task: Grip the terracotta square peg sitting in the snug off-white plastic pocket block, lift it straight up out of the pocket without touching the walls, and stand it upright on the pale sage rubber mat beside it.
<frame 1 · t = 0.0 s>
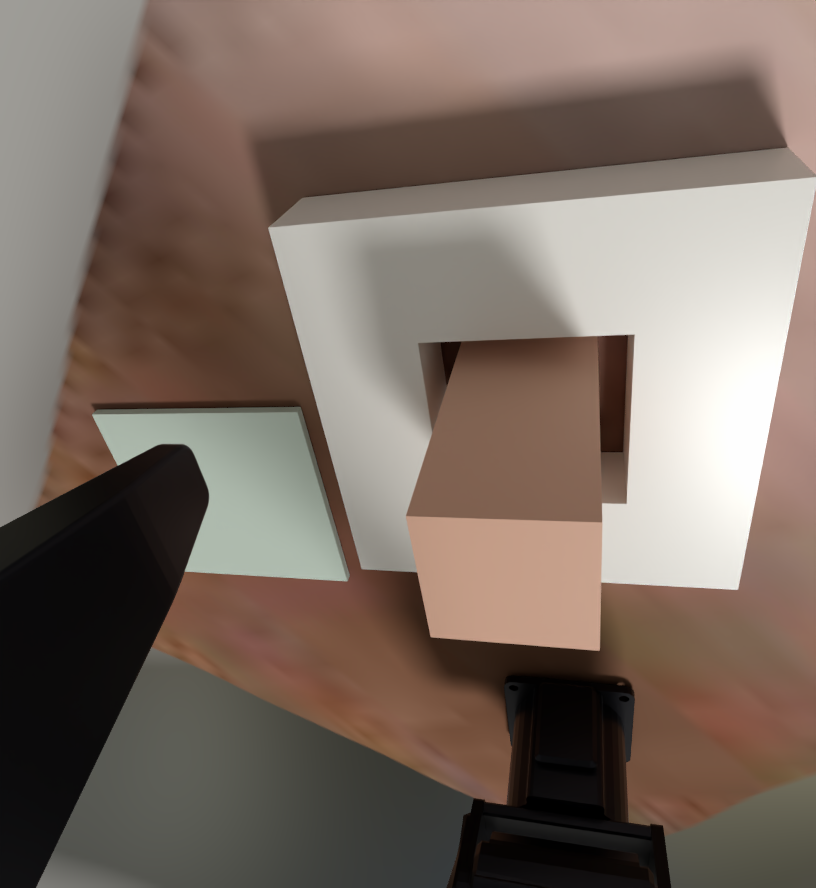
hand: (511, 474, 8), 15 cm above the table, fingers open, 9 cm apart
peg: (522, 463, 20), in the dock
mat: (229, 496, 31), on the table
dock: (532, 380, 24), on the table
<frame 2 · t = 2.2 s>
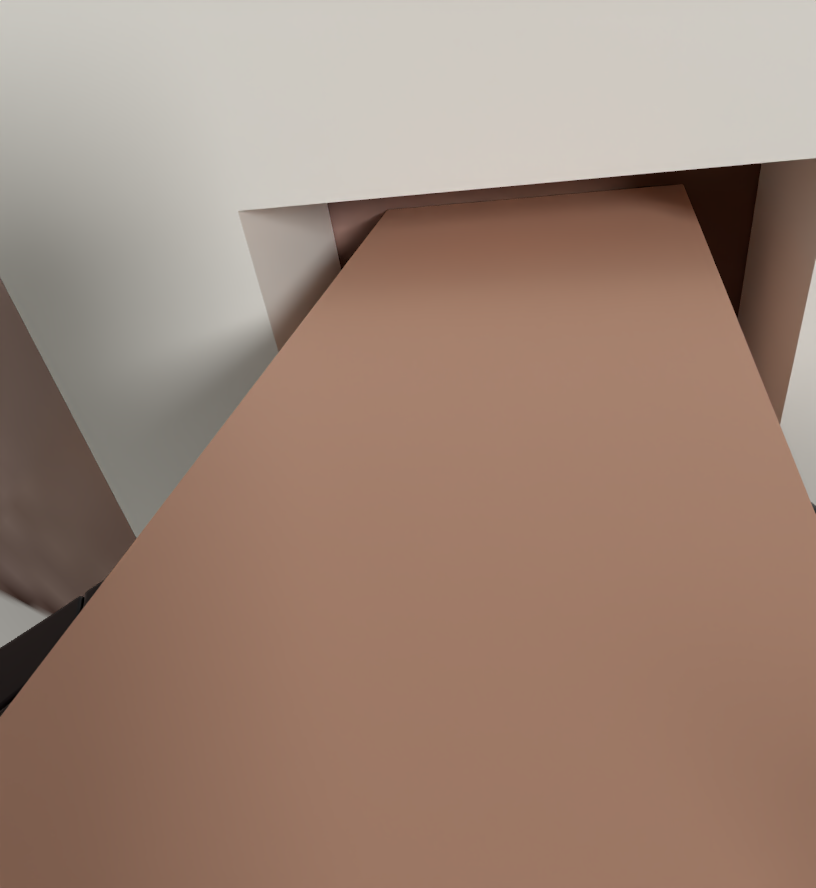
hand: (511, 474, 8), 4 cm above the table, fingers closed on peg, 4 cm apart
peg: (503, 527, 8), in the dock, touching gripper
dock: (532, 330, 11), on the table
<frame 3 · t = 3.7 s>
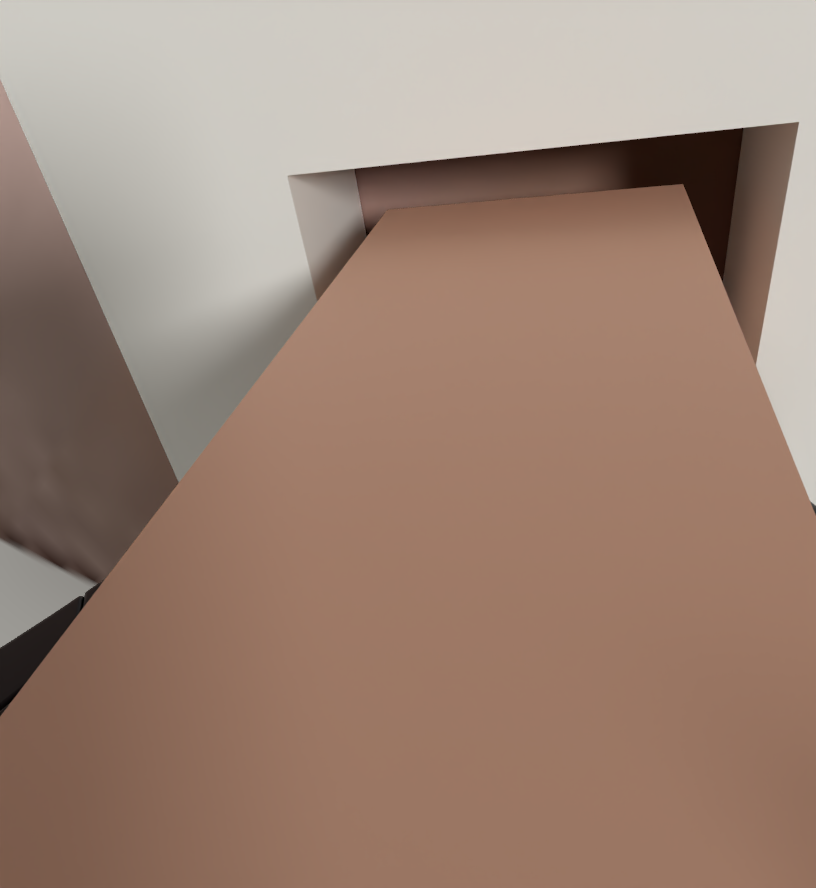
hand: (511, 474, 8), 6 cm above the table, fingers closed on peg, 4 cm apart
peg: (503, 526, 8), point 7 cm above the table, touching gripper
dock: (539, 292, 13), on the table
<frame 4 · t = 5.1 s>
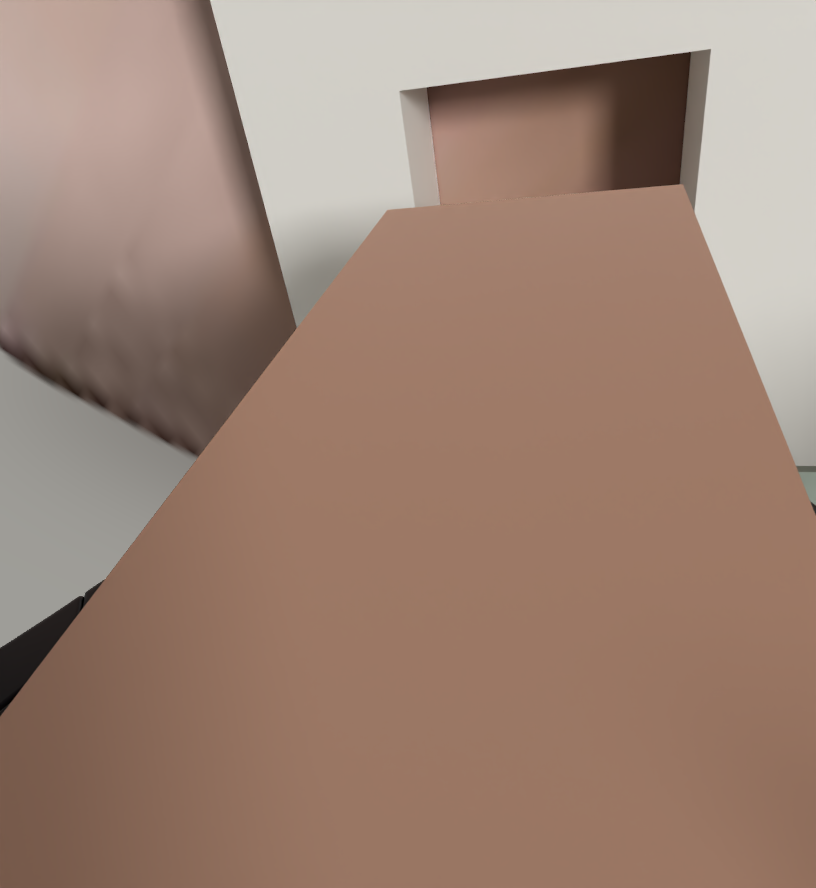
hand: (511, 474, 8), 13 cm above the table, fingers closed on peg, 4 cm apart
peg: (503, 526, 8), point 14 cm above the table, touching gripper
mat: (723, 568, 25), on the table
dock: (554, 188, 18), on the table
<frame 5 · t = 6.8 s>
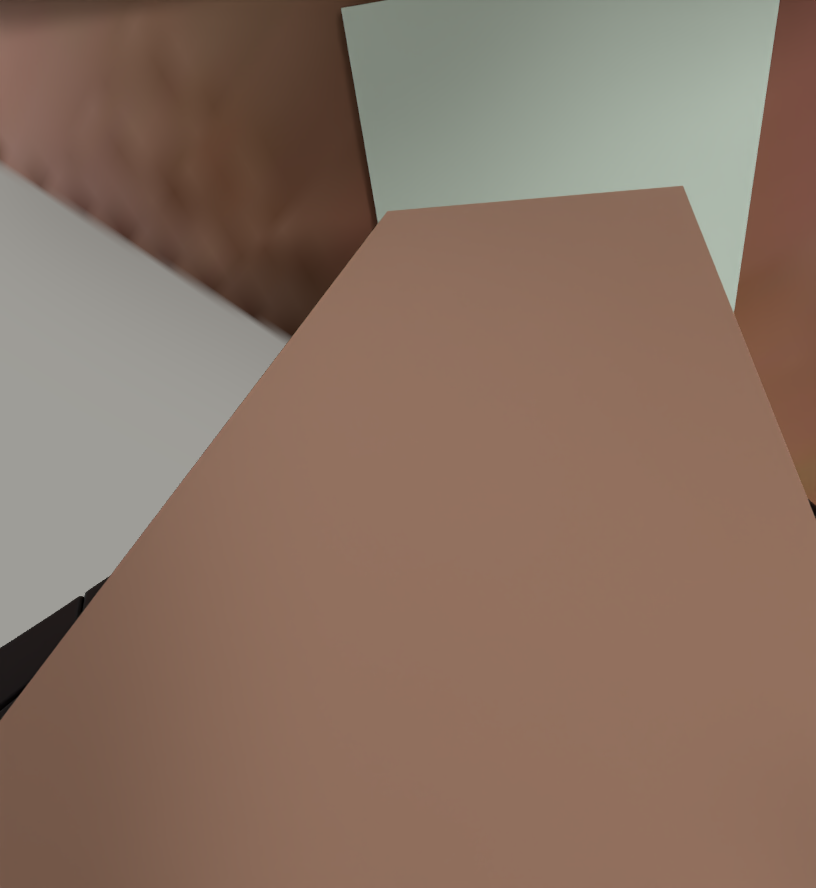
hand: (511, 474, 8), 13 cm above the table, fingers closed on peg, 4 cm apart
peg: (503, 528, 8), point 14 cm above the table, touching gripper
mat: (551, 191, 18), on the table
when the fingers open (5 cm above the table, at t = 8.4 s): peg drops 1 cm, resting on mat.
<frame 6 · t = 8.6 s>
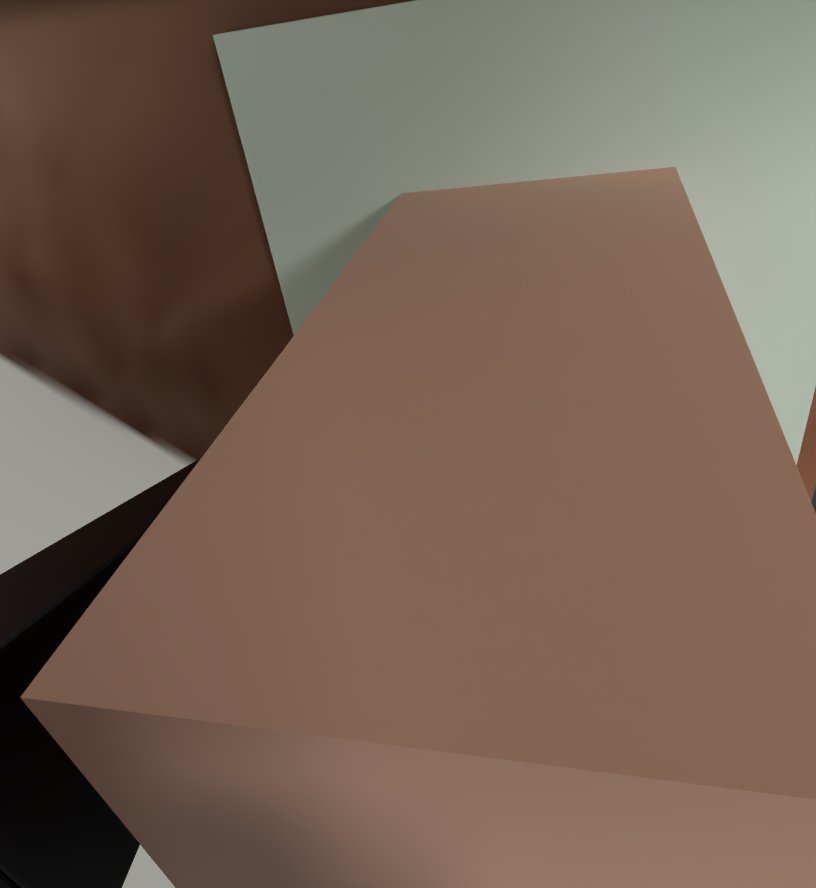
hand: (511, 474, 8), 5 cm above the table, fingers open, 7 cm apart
peg: (512, 471, 8), on the mat
mat: (536, 297, 13), on the table
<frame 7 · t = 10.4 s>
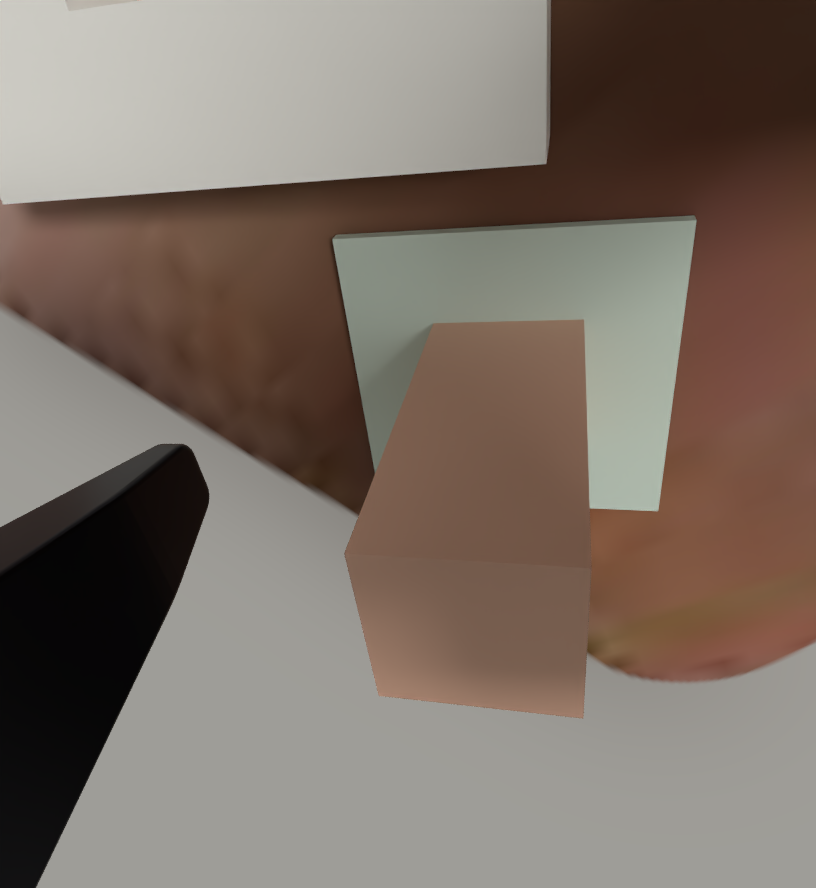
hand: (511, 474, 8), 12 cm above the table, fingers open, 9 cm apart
peg: (494, 484, 17), on the mat
mat: (509, 379, 21), on the table
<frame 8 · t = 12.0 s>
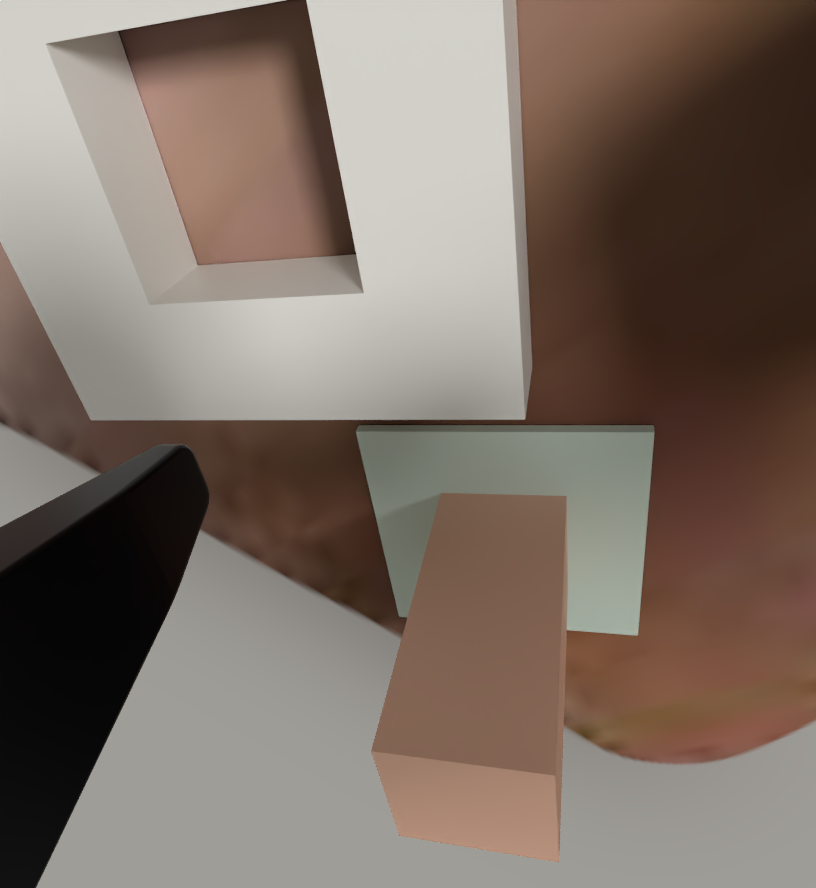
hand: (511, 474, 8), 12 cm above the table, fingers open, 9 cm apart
peg: (491, 649, 21), on the mat
mat: (506, 532, 25), on the table
dock: (261, 147, 19), on the table
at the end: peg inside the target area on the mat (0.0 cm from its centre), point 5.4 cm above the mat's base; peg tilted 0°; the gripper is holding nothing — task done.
